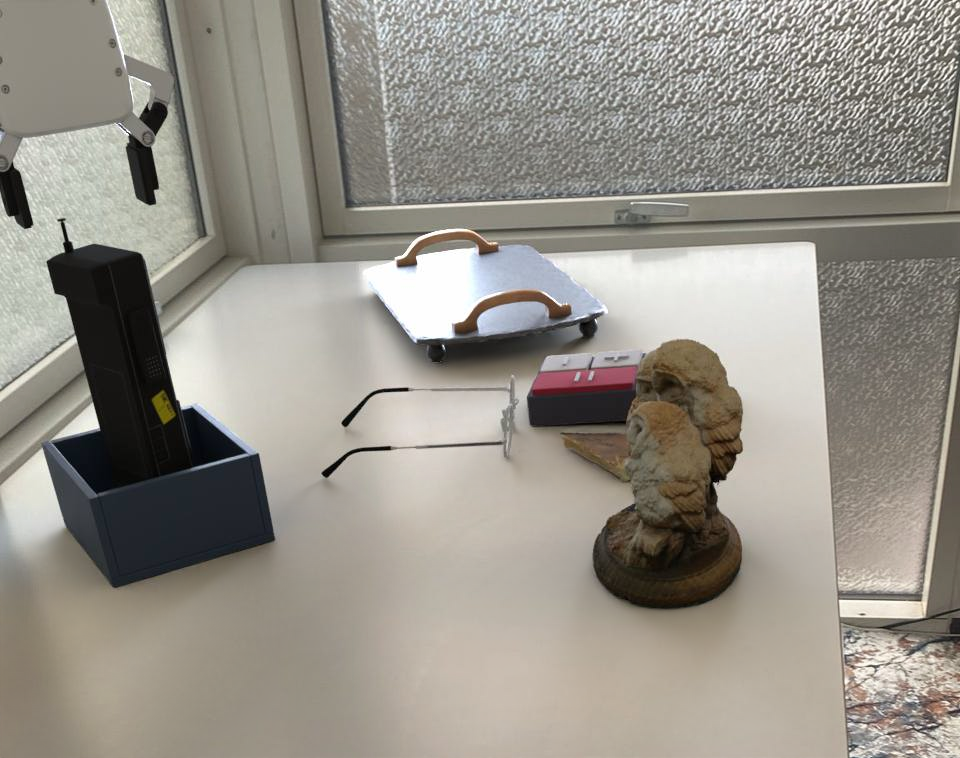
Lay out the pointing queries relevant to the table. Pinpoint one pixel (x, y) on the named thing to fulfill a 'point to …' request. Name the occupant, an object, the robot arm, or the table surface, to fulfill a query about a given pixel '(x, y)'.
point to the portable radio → (123, 360)
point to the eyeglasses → (507, 415)
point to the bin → (162, 502)
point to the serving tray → (479, 293)
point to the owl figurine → (675, 483)
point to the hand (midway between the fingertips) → (86, 213)
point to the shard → (601, 450)
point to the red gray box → (584, 388)
